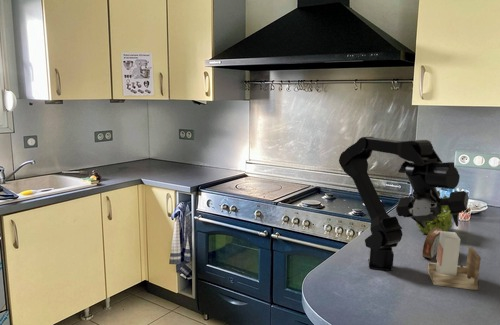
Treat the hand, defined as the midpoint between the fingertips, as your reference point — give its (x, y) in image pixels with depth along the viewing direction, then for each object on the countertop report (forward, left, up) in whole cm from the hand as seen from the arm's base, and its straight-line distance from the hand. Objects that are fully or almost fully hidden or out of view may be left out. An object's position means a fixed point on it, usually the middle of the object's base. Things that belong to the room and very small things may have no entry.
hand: (440, 226), depth 120 cm
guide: (+4, -2, -15) cm, 16 cm away
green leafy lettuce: (+5, +41, -15) cm, 44 cm away
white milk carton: (+2, -2, -14) cm, 14 cm away
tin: (+2, +17, -15) cm, 23 cm away
